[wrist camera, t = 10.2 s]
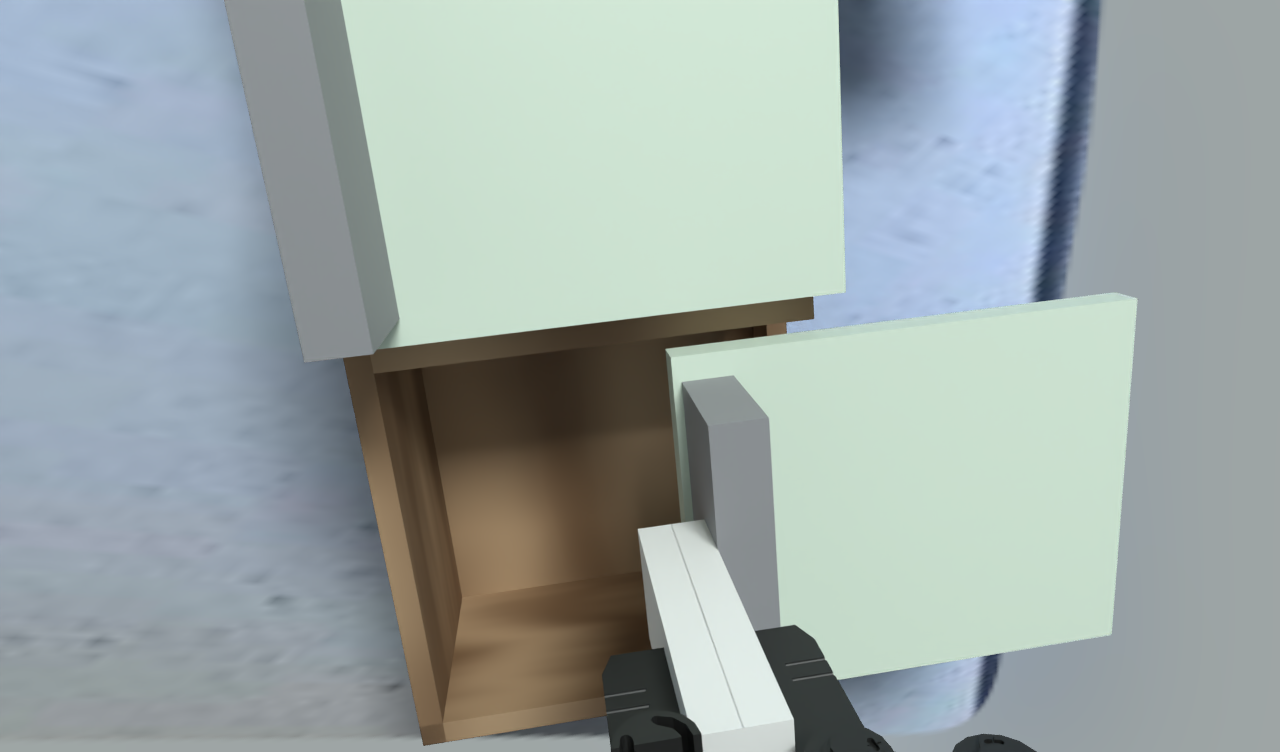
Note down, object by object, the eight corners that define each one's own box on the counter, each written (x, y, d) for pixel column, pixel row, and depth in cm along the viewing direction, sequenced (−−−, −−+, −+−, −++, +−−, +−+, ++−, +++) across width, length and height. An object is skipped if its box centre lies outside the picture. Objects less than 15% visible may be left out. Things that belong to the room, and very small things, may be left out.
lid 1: (346, 345, 18) (300, 396, 15) (250, -121, 16) (166, -197, 12) (833, 286, 19) (902, 320, 16) (819, -161, 17) (898, -244, 13)
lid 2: (695, 682, 22) (727, 791, 18) (665, 348, 19) (695, 397, 16) (1092, 618, 23) (1196, 708, 19) (1115, 292, 20) (1239, 325, 17)
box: (449, 603, 29) (423, 745, 22) (235, -552, 20) (80, -908, 13) (777, 554, 30) (848, 675, 23) (716, -565, 21) (803, -901, 14)
